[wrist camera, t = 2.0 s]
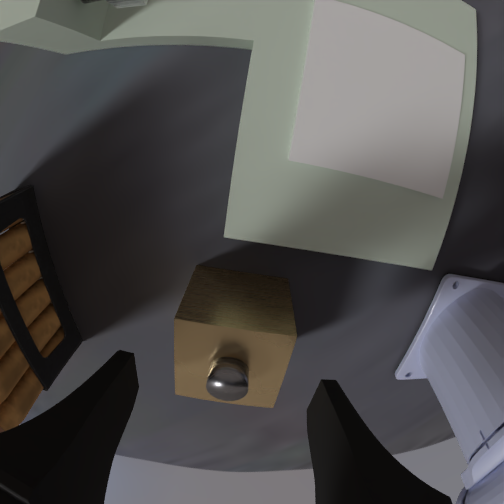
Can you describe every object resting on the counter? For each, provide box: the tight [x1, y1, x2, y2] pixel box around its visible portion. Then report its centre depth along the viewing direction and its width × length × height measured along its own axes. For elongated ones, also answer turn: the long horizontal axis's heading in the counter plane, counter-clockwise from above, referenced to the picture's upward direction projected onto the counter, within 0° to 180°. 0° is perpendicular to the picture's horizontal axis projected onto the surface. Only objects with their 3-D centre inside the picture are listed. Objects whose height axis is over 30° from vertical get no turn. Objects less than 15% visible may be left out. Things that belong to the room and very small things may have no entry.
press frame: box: [0, 0, 477, 270], centre depth 8 cm, size 20×14×6 cm
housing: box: [174, 265, 297, 408], centre depth 13 cm, size 4×4×6 cm
